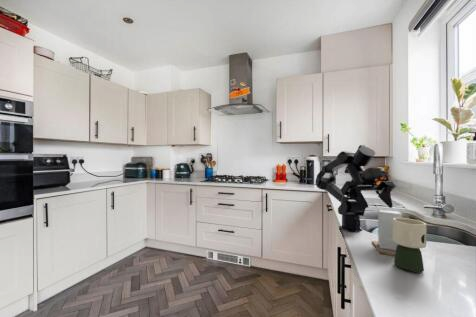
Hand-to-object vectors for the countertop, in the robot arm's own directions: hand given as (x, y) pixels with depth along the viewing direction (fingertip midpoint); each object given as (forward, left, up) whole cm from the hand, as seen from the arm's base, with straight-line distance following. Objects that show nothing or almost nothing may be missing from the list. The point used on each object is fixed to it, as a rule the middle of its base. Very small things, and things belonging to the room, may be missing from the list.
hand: (379, 207), depth 74 cm
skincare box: (+4, -1, -13) cm, 13 cm away
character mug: (+15, -9, -13) cm, 22 cm away
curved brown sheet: (+4, -1, -13) cm, 14 cm away
